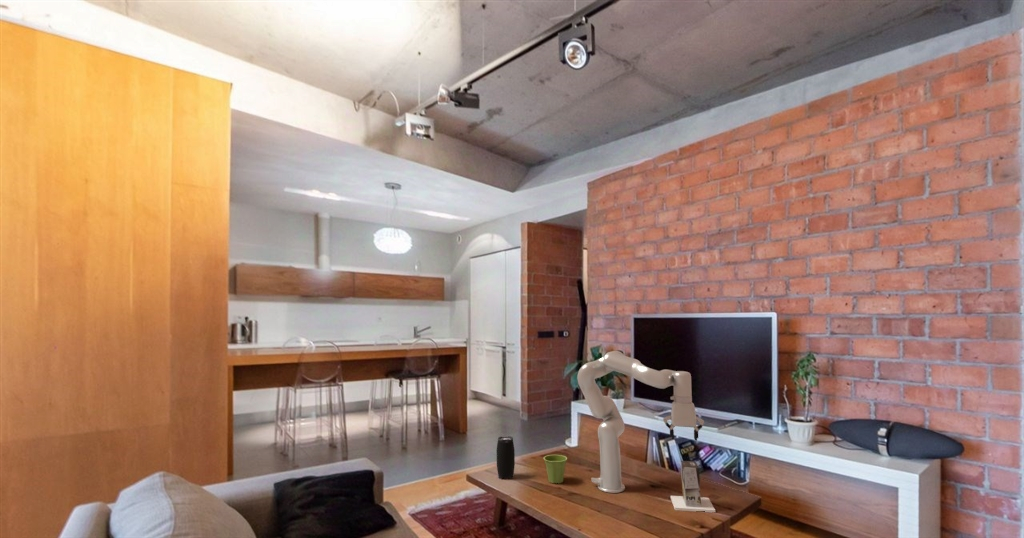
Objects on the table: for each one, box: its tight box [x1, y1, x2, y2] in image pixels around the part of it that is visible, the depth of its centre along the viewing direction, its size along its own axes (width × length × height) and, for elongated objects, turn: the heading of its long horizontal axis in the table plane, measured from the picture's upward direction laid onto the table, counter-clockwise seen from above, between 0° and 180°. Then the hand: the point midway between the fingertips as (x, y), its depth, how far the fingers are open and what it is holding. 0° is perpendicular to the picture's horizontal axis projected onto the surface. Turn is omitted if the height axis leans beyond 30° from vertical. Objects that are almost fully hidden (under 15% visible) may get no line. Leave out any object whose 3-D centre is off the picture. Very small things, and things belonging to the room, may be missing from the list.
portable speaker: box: [496, 435, 516, 480], centre depth 235 cm, size 9×9×20 cm
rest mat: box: [670, 495, 716, 513], centre depth 197 cm, size 16×13×1 cm
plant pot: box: [543, 454, 568, 484], centre depth 228 cm, size 12×12×11 cm
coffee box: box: [680, 460, 701, 507], centre depth 198 cm, size 9×6×16 cm
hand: (684, 439), depth 202 cm, fingers open, 9 cm apart
